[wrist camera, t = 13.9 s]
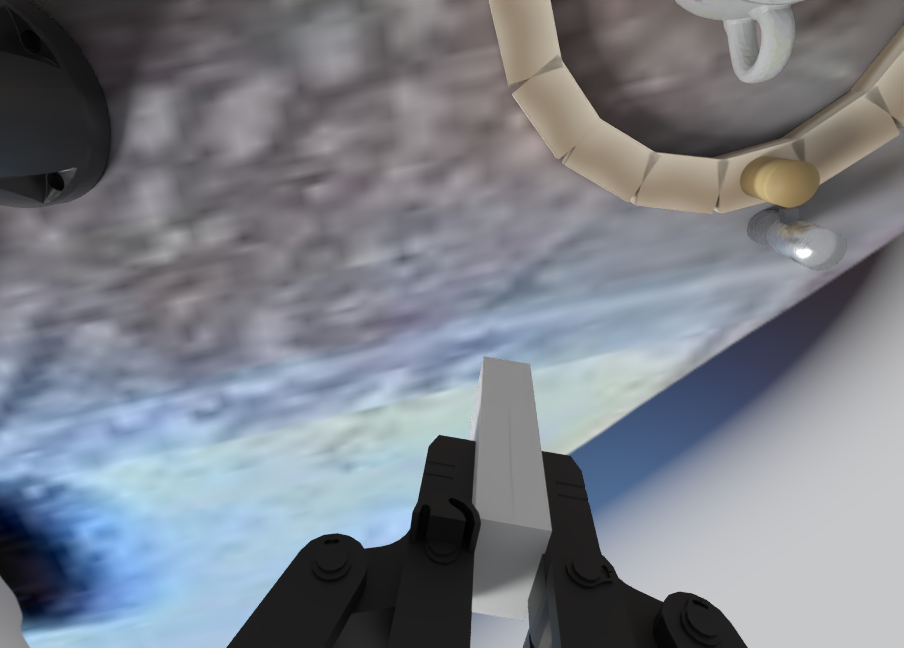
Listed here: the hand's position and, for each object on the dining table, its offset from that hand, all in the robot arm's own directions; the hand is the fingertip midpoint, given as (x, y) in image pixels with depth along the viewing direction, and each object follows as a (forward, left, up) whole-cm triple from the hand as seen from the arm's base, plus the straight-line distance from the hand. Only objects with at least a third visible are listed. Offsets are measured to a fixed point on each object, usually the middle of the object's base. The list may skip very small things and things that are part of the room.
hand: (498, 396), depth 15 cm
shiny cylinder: (+19, +4, -23) cm, 30 cm away
